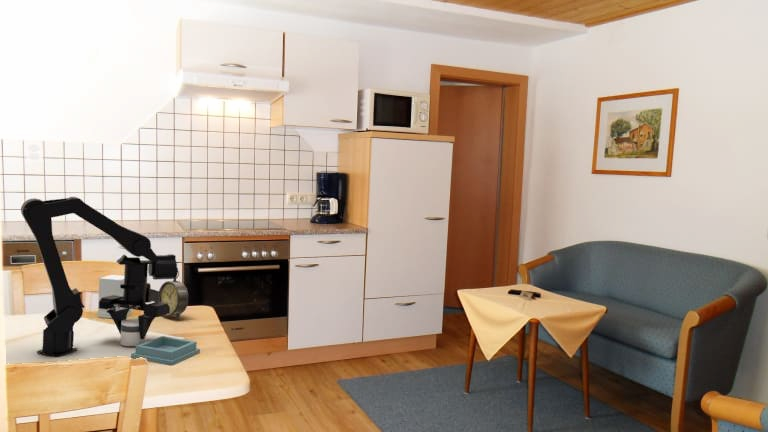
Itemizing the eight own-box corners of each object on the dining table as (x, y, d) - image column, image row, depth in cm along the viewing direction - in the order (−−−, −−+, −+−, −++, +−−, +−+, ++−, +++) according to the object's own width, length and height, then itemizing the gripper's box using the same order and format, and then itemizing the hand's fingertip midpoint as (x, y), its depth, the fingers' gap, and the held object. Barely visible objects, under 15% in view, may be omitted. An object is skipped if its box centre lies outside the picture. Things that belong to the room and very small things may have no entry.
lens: (134, 347, 153) (135, 325, 153) (114, 344, 155) (115, 321, 155) (149, 341, 159) (150, 320, 159) (130, 338, 161) (131, 317, 161)
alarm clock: (156, 315, 189) (158, 266, 188) (170, 313, 194) (173, 265, 193) (175, 322, 183) (178, 271, 182) (190, 319, 187) (193, 270, 186)
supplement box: (131, 314, 188) (133, 276, 188) (119, 319, 181) (121, 279, 180) (110, 312, 189) (111, 274, 188) (96, 317, 182) (98, 277, 181)
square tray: (171, 365, 143) (172, 353, 143) (130, 357, 147) (131, 346, 146) (199, 352, 155) (200, 341, 155) (161, 345, 158) (162, 335, 158)
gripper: (183, 280, 161) (180, 335, 162) (127, 272, 166) (125, 325, 167) (157, 286, 151) (154, 345, 151) (98, 277, 156) (95, 334, 157)
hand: (132, 337), depth 157 cm, fingers closed on lens, 6 cm apart
